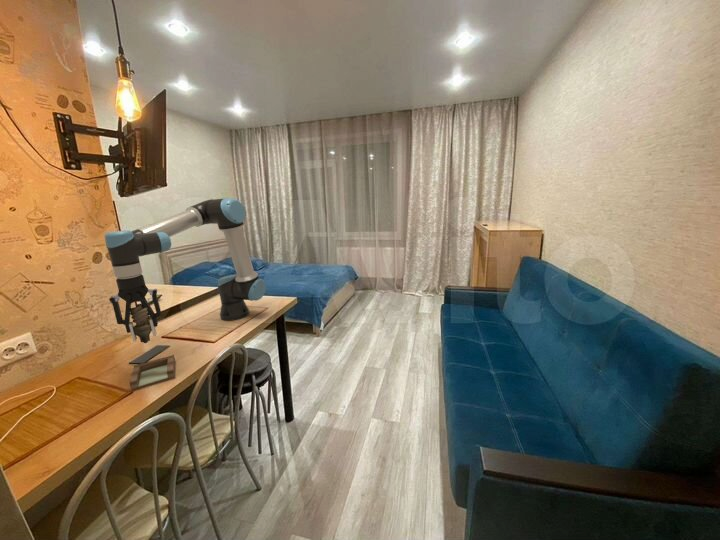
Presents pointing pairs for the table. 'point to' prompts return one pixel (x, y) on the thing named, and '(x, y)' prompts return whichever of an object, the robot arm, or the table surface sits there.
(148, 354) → the smartphone
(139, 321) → the stone figurine
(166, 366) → the brown picture frame
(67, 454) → the table surface
